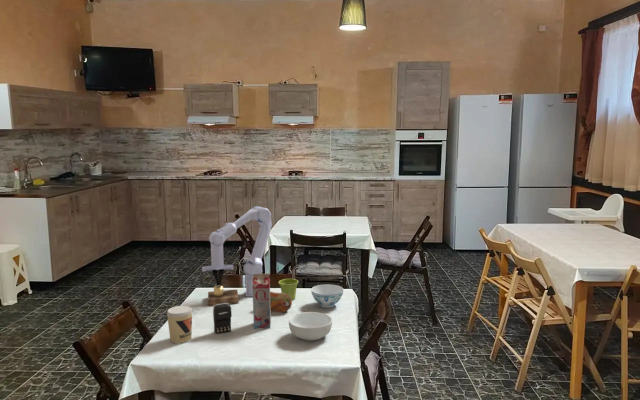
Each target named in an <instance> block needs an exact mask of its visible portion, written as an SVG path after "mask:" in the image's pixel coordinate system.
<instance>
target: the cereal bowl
mask: <svg viewBox="0 0 640 400" xmlns="http://www.w3.org/2000/svg"><path fill="white" fill-rule="evenodd" d="M332 325H333V320H332V317H331V316H330V315H328V314H326V313H322V312H318V311H317V312H316V311H305V312H304V311H303V312H298V313H295V314H293V315H292V316H290V318H289V319H288V327H289V330H290V332H291V333H292V334H293V336H295V337H297V338H300V339H302V340H303V341H307V342H308V341H311V342H313V341H317V340H319V339H322V338H324V337H325V336H327V335H328V334H329V333H330V332H331V330H332Z"/></svg>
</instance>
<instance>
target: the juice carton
mask: <svg viewBox="0 0 640 400" xmlns="http://www.w3.org/2000/svg"><path fill="white" fill-rule="evenodd" d="M252 286H253V296H252V308H253V310H252V311H253V314H252V315H253V317H252V318H253V330H257V329H258V330H259V329H261V330H262V329H271V324H272V321H271V320H272V314H271V313H272V311H271V308H270V292H271V278H270V273H262V274H253V284H252Z"/></svg>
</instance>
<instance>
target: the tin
mask: <svg viewBox="0 0 640 400" xmlns="http://www.w3.org/2000/svg"><path fill="white" fill-rule="evenodd" d="M292 305H293V300H291V298H290V296H289V295H288V294H286V293H282V292H277V291H270V308H271V312H278V313H286V312H288V310H290V309H291V308H292Z"/></svg>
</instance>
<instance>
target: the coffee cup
mask: <svg viewBox="0 0 640 400" xmlns="http://www.w3.org/2000/svg"><path fill="white" fill-rule="evenodd" d="M166 315H167V323H168V331H169V333H168V334H169V338H170V342H171V343H172V344H176V345H179V344H181V345H182V344H185V343H188V342H189V341H191V340H192V337H193V336H192V335H193V334H192V332H193V330H192V328H193V308H192V306H188V305H175V306H173V307H170V308H168V309H167V312H166Z"/></svg>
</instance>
